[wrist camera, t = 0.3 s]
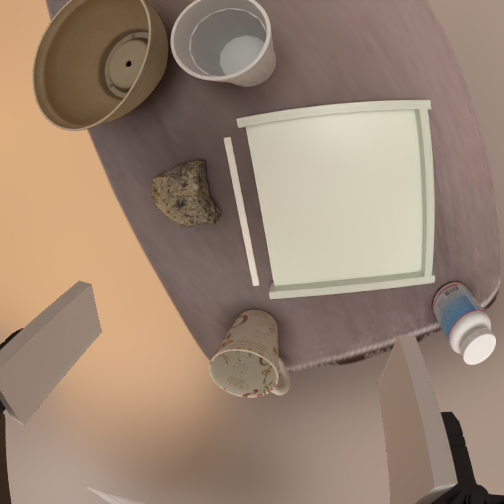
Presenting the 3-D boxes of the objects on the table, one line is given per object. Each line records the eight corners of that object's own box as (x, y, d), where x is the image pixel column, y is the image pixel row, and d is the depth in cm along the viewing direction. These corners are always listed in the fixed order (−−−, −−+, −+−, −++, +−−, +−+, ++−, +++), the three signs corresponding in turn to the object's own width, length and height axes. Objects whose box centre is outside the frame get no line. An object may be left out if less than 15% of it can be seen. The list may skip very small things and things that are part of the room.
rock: (172, 228, 40) (157, 241, 36) (154, 171, 37) (137, 178, 33) (223, 217, 38) (212, 230, 34) (205, 156, 35) (192, 161, 31)
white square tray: (241, 119, 33) (236, 118, 30) (422, 101, 28) (430, 100, 26) (272, 289, 41) (270, 299, 38) (428, 273, 36) (434, 282, 34)
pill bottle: (427, 317, 38) (450, 372, 28) (436, 280, 36) (468, 330, 26) (461, 316, 37) (489, 367, 27) (472, 280, 35) (507, 327, 25)
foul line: (224, 137, 34) (223, 138, 34) (230, 136, 34) (230, 136, 34) (253, 285, 41) (253, 285, 41) (259, 284, 41) (259, 285, 41)
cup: (237, 19, 28) (205, -21, 17) (297, 51, 28) (291, 16, 18) (201, 73, 31) (153, 56, 20) (258, 106, 32) (233, 98, 21)
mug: (257, 291, 41) (242, 338, 32) (316, 348, 43) (314, 399, 34) (216, 321, 44) (195, 367, 35) (273, 371, 47) (264, 420, 38)
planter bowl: (187, -7, 27) (146, -40, 17) (201, 109, 33) (159, 106, 23) (84, 34, 30) (30, 24, 20) (94, 136, 36) (38, 147, 27)
